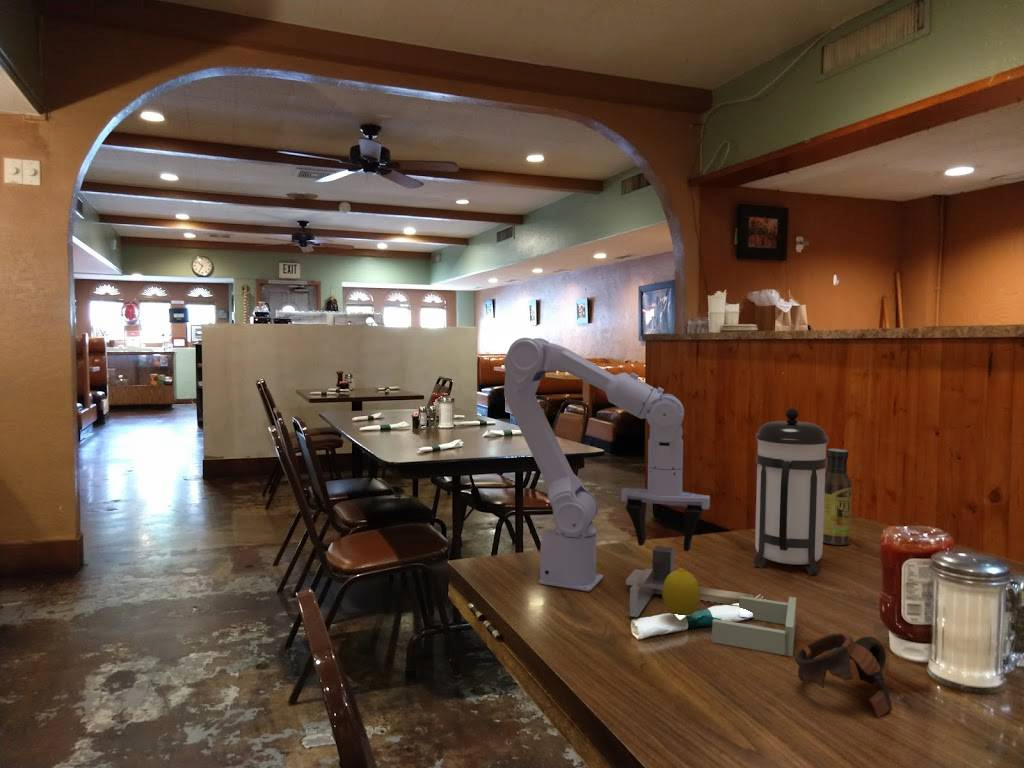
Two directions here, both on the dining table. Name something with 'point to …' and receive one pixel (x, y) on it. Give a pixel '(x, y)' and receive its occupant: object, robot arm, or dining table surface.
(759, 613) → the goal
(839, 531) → the sauce bottle
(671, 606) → the lemon
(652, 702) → the dining table surface
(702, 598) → the rail
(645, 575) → the slider
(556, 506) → the robot arm
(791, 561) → the coffee press
